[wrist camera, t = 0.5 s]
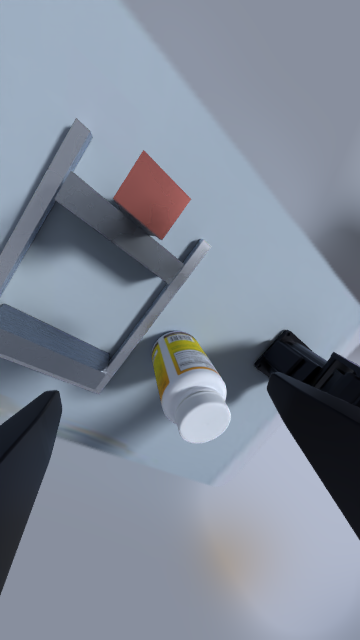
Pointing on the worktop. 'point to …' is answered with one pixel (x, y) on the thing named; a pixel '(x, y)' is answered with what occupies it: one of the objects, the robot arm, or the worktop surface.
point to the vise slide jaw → (133, 213)
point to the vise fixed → (47, 341)
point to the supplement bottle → (190, 388)
